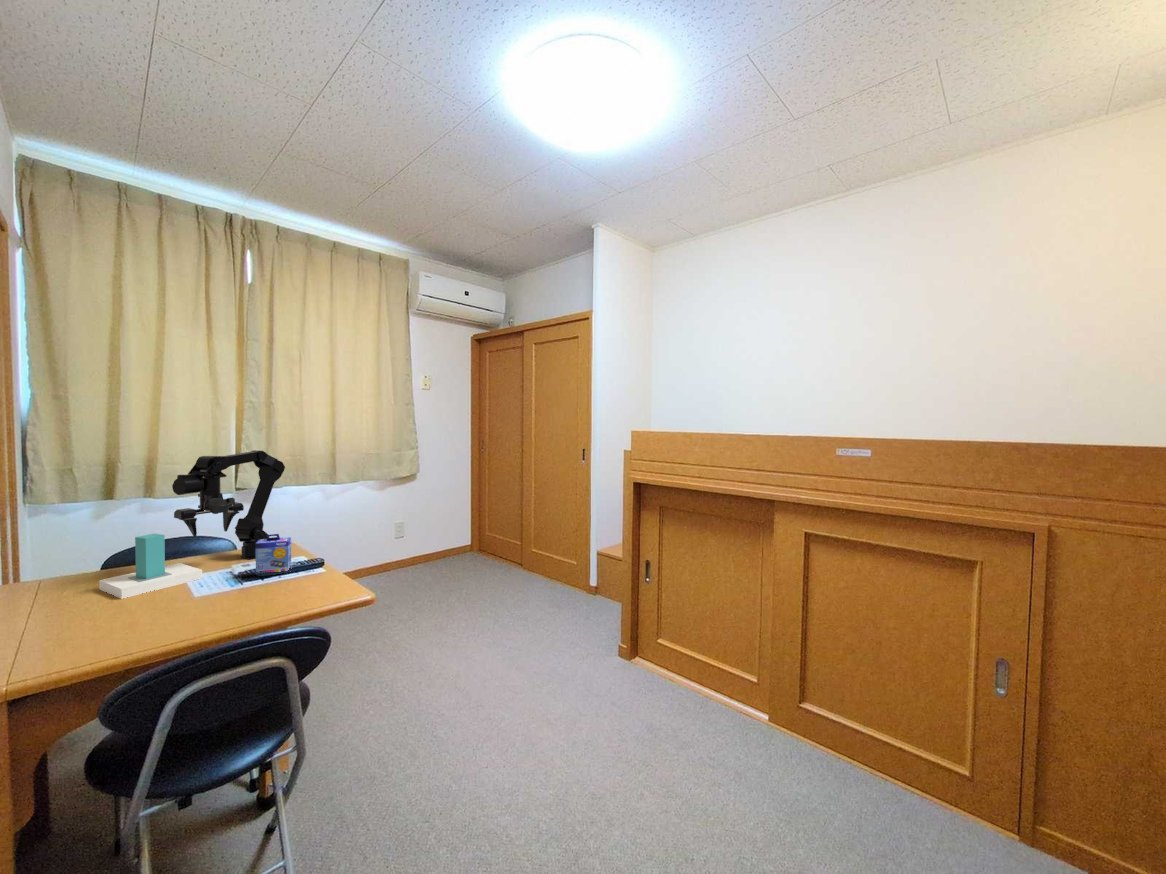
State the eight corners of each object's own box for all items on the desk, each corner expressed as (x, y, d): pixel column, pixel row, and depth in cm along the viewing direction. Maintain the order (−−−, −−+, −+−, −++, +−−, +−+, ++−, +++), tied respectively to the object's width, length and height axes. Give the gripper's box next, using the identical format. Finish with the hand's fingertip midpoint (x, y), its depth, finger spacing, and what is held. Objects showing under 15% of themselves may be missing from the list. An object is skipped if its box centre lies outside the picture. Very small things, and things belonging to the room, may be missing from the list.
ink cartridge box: (254, 578, 152) (254, 536, 151) (258, 573, 157) (258, 532, 156) (289, 574, 156) (288, 533, 156) (291, 569, 161) (291, 530, 161)
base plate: (179, 571, 158) (179, 562, 158) (202, 578, 151) (202, 569, 151) (99, 589, 140) (99, 579, 140) (121, 598, 133) (121, 588, 133)
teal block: (154, 572, 147) (154, 533, 147) (165, 574, 146) (164, 534, 145) (135, 577, 142) (135, 537, 142) (146, 579, 141) (145, 538, 141)
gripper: (189, 496, 147) (189, 542, 148) (251, 489, 164) (252, 531, 164) (172, 493, 152) (173, 538, 153) (235, 487, 169) (235, 527, 169)
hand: (210, 534), depth 160 cm, fingers open, 9 cm apart
